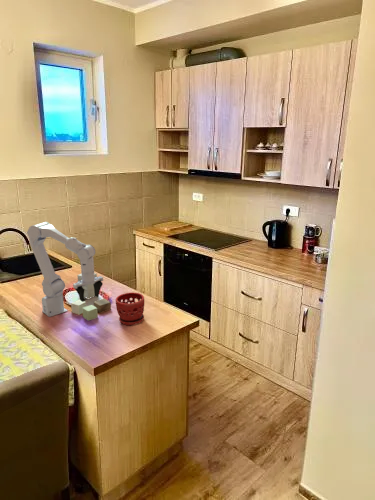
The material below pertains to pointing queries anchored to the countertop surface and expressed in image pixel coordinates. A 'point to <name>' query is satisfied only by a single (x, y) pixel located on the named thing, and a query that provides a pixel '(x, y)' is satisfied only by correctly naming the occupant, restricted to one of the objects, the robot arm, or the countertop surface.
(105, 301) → the walnut block
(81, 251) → the robot arm
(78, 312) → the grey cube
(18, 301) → the countertop surface
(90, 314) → the sage cube
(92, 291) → the supplement box
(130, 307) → the plant pot
